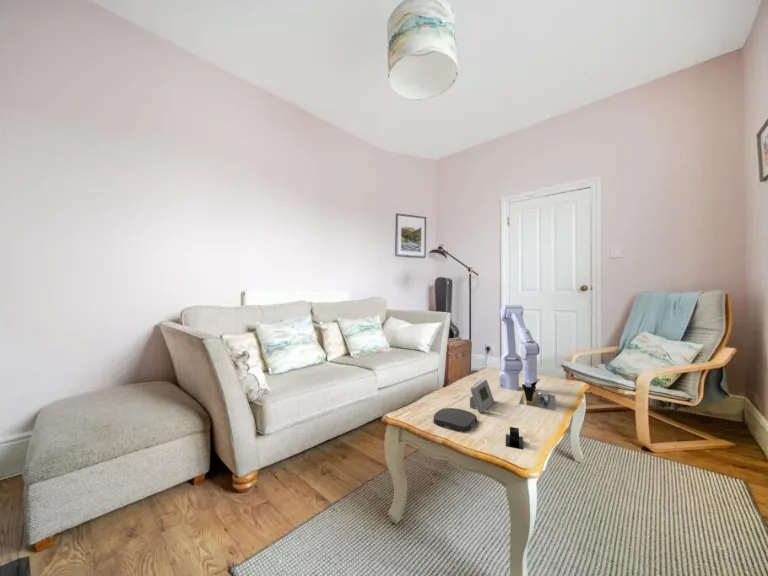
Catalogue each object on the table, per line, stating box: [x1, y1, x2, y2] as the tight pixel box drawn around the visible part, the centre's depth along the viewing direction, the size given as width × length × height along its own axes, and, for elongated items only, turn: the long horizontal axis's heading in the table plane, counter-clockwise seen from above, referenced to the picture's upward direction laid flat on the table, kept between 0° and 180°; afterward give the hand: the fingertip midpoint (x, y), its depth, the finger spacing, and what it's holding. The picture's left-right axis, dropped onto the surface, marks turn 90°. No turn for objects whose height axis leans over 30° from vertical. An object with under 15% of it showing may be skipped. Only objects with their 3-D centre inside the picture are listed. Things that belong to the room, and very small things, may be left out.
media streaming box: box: [433, 407, 478, 433], centre depth 120 cm, size 15×15×3 cm
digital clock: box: [469, 378, 495, 413], centre depth 136 cm, size 16×9×11 cm, turn 131°
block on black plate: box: [505, 426, 525, 451], centre depth 105 cm, size 12×7×5 cm, turn 158°
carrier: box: [518, 388, 556, 411], centre depth 142 cm, size 14×20×4 cm
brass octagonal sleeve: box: [522, 388, 538, 404], centre depth 140 cm, size 6×6×5 cm
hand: (529, 398), depth 140 cm, fingers open, 7 cm apart
